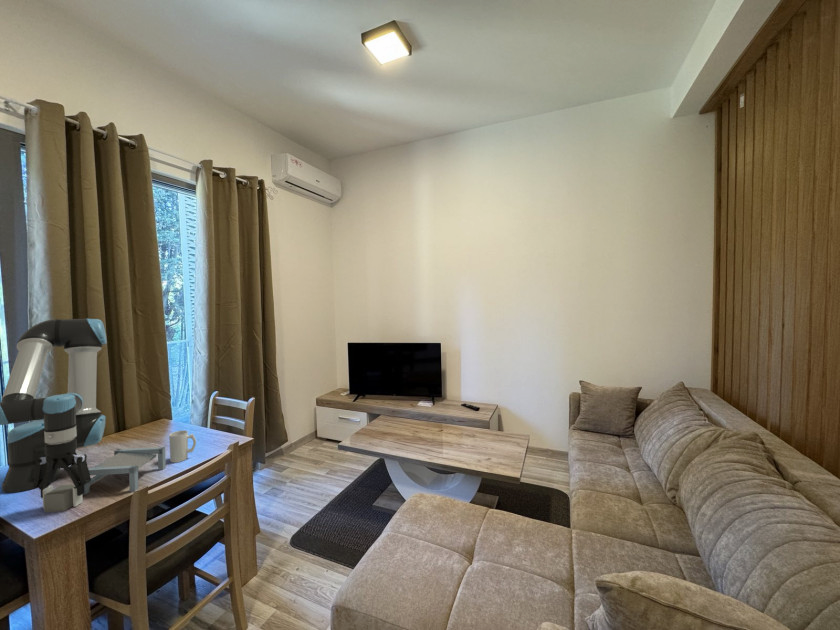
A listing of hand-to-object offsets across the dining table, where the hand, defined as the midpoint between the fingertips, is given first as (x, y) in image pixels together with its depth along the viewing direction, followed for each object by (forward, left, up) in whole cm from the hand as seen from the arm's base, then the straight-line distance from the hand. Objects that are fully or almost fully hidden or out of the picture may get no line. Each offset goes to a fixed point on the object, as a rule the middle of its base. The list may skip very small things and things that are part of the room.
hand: (63, 505), depth 116 cm
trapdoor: (+9, +16, +6) cm, 19 cm away
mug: (+21, +33, -1) cm, 39 cm away
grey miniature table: (+9, +16, 0) cm, 18 cm away
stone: (0, 0, 0) cm, 0 cm away
